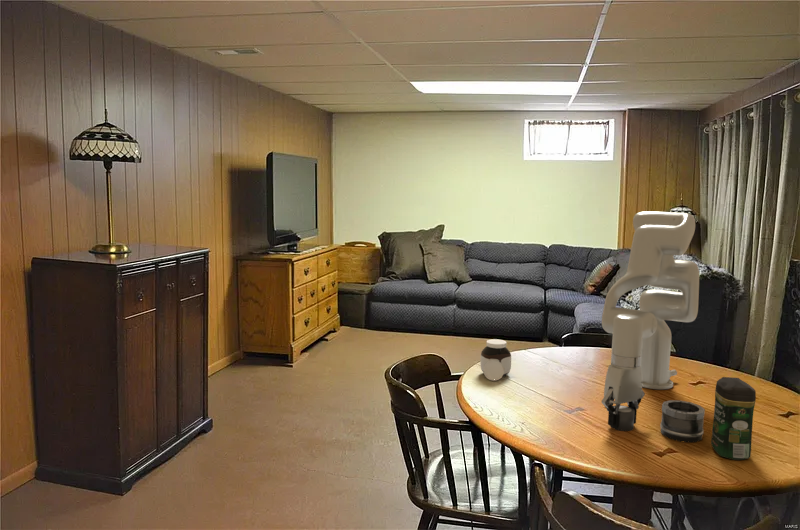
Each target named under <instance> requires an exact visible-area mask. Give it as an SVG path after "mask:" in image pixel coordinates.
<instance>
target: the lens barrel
mask: <svg viewBox="0 0 800 530" xmlns="http://www.w3.org/2000/svg"><path fill="white" fill-rule="evenodd" d="M705 410H706V409H705V408H704V407H702V406H701V405H700V404H697V403H694V402H691V401H685V400H680V399H679V400H677V399H675V400H673V399H671V400H666V401H663V402H662V404H661V422H660V425H659V427H660V433H661V434H662V436H664V437H666V438H667V437H668V439H670V440H672V439H673V440H674V441H676V440H677V442H681V441H684V442H683V443H697V441H698V442H700V440H701V441H702V439H703V435H704V431H705V430H704V418H705V414H706V413H705Z"/></svg>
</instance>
